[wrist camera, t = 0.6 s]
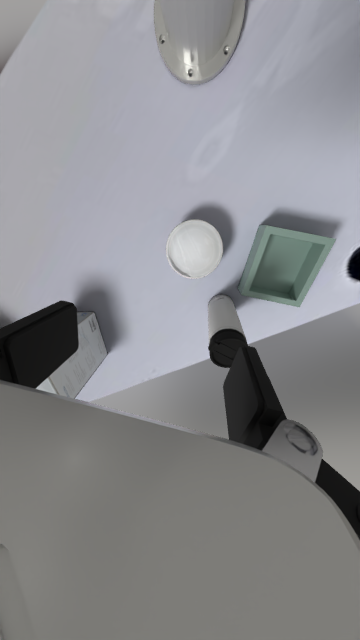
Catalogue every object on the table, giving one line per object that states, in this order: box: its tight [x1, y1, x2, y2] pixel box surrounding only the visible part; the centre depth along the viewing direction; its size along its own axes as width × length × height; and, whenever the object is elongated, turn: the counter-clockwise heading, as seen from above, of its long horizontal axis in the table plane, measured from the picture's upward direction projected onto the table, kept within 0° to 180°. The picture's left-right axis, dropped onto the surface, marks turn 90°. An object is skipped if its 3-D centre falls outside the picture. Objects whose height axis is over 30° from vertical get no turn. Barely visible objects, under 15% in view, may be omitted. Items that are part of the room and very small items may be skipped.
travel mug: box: [208, 294, 248, 368], centre depth 37 cm, size 6×7×20 cm
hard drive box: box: [36, 312, 108, 399], centre depth 47 cm, size 16×8×20 cm, turn 5°
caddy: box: [238, 225, 336, 307], centre depth 38 cm, size 13×12×5 cm
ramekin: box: [166, 219, 223, 279], centre depth 38 cm, size 11×11×5 cm
